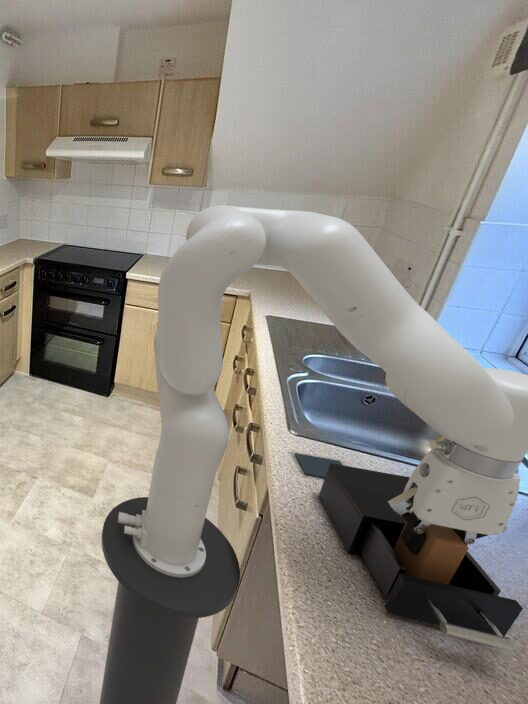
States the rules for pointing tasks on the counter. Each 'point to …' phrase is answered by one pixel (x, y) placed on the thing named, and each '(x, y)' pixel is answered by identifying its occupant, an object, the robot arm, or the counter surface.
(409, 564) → the block
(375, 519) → the black storage cabinet
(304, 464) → the mat
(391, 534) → the drawer
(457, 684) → the counter surface
